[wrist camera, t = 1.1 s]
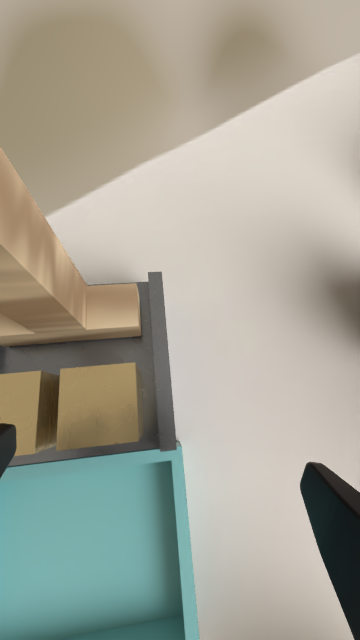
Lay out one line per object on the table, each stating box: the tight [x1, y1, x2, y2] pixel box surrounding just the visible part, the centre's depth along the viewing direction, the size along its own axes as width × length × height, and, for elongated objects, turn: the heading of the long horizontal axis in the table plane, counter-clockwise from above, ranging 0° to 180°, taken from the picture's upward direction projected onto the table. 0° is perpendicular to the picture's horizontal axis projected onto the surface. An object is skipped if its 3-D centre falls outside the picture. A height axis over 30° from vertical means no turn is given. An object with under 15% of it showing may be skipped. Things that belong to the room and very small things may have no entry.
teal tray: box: [0, 441, 199, 640], centre depth 16 cm, size 11×14×2 cm
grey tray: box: [0, 272, 177, 466], centre depth 19 cm, size 12×13×6 cm
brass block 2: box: [56, 362, 144, 451], centre depth 15 cm, size 4×4×4 cm
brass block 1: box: [0, 371, 60, 456], centre depth 14 cm, size 4×4×4 cm
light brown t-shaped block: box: [0, 147, 141, 347], centre depth 12 cm, size 3×9×12 cm, turn 96°
